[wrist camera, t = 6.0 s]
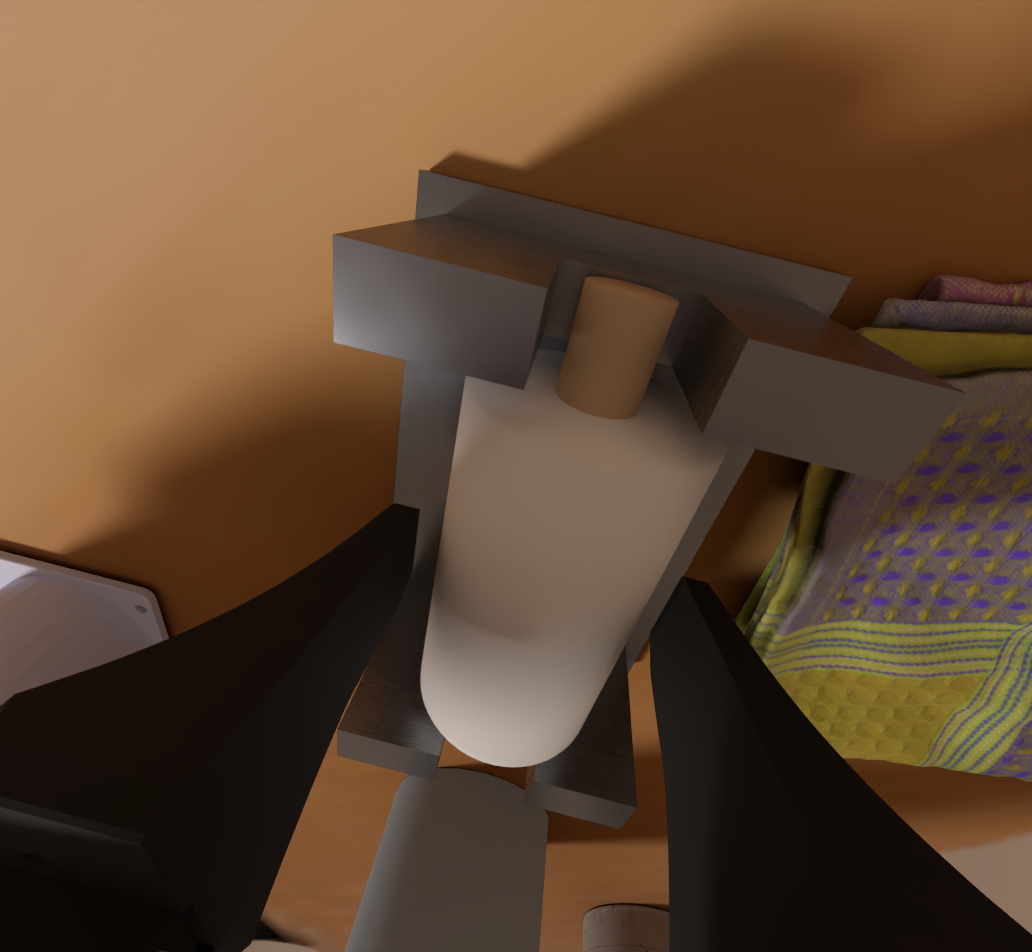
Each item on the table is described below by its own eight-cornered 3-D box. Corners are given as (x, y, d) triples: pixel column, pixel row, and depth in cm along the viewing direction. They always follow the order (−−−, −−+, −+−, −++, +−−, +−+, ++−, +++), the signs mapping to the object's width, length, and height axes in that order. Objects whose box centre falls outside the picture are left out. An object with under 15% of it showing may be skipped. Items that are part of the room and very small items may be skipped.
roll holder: (624, 665, 18) (635, 845, 13) (390, 605, 19) (314, 761, 14) (840, 273, 10) (1068, 353, 5) (427, 170, 11) (275, 155, 6)
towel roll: (570, 661, 17) (571, 819, 13) (436, 631, 17) (391, 781, 13) (732, 294, 10) (850, 378, 6) (503, 239, 10) (452, 283, 6)
